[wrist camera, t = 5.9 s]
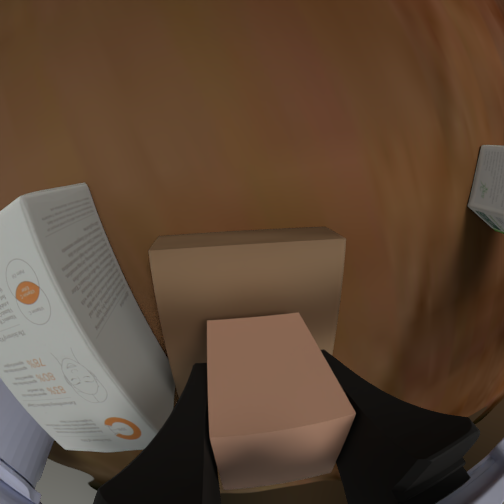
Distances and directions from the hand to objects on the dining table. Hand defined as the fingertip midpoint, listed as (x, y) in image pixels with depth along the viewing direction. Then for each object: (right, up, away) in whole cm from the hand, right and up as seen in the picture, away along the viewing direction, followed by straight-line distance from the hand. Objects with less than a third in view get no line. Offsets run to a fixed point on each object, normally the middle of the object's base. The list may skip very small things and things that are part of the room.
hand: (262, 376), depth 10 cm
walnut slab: (-1, +2, +6) cm, 6 cm away
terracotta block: (0, 0, +2) cm, 2 cm away
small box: (-12, +7, -1) cm, 14 cm away
